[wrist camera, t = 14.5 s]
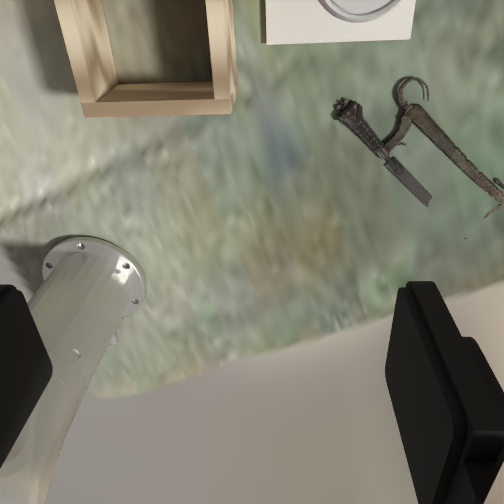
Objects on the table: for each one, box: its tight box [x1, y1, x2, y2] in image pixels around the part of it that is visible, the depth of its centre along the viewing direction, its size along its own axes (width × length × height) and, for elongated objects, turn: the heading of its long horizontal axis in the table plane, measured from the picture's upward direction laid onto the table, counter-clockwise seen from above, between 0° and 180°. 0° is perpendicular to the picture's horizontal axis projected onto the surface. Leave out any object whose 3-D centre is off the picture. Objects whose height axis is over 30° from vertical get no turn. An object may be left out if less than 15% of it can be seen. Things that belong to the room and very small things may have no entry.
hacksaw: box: [337, 78, 504, 239], centre depth 42 cm, size 24×10×2 cm, turn 48°
